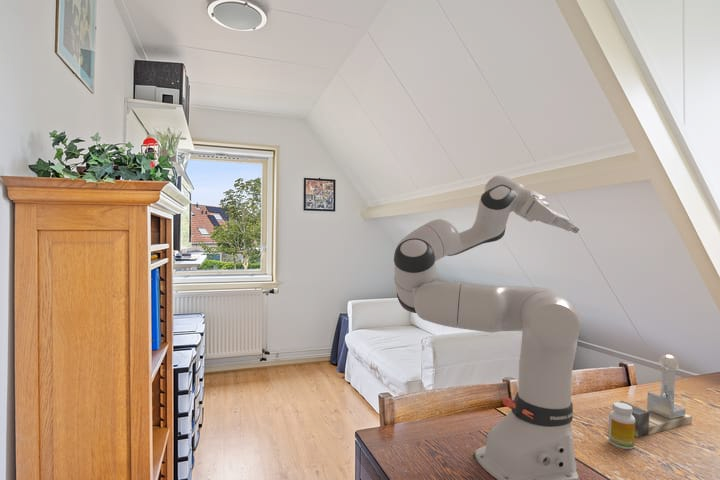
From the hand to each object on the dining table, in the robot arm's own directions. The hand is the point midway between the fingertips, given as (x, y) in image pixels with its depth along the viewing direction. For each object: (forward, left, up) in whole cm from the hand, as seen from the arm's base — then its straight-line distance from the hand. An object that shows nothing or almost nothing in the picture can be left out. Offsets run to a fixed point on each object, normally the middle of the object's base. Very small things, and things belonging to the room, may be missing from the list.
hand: (574, 230), depth 117 cm
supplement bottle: (-5, -20, -53) cm, 57 cm away
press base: (+13, -16, -53) cm, 57 cm away
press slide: (+19, -16, -51) cm, 56 cm away
